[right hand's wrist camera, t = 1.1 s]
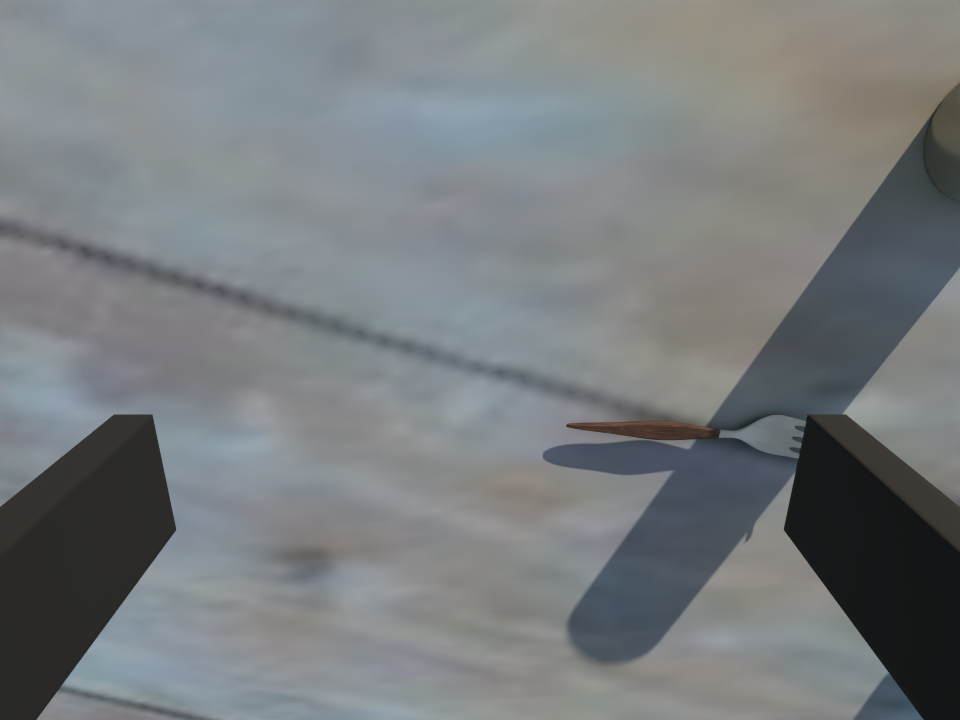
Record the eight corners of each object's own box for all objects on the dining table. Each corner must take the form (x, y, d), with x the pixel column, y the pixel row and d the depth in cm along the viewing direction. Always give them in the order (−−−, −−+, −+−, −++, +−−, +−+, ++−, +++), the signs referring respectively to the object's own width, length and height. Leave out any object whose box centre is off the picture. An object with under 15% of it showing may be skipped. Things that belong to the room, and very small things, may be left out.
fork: (567, 401, 37) (572, 416, 35) (833, 416, 38) (852, 432, 36) (563, 440, 38) (567, 457, 36) (822, 455, 38) (840, 472, 37)
